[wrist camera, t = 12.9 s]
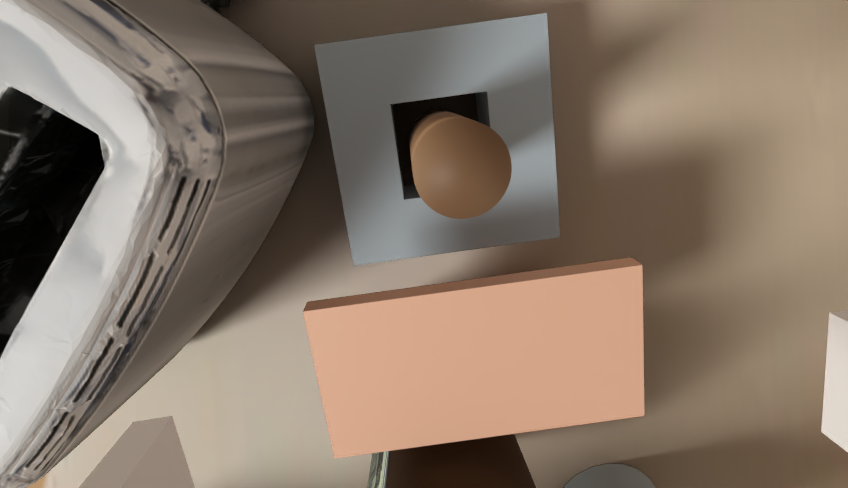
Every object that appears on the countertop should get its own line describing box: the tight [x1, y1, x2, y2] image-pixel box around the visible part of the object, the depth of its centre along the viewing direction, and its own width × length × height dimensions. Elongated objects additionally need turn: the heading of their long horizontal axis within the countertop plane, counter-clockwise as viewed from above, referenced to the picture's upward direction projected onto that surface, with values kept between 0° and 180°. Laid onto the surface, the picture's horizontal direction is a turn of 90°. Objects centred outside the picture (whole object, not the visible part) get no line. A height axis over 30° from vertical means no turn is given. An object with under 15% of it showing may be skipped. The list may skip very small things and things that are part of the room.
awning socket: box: [303, 13, 645, 458], centre depth 30 cm, size 16×20×13 cm
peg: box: [409, 109, 512, 219], centre depth 28 cm, size 4×4×15 cm
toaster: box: [0, 0, 314, 488], centre depth 26 cm, size 17×30×19 cm, turn 143°
